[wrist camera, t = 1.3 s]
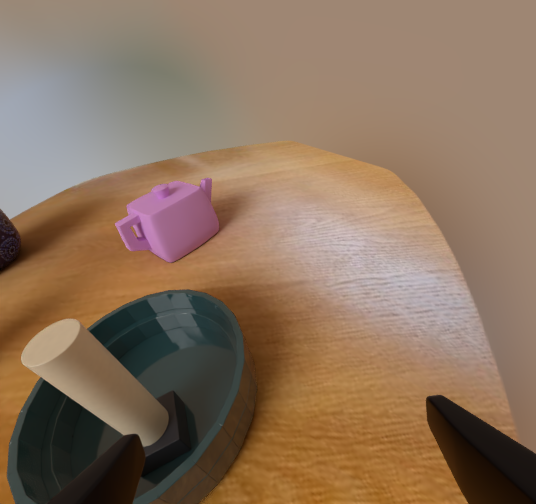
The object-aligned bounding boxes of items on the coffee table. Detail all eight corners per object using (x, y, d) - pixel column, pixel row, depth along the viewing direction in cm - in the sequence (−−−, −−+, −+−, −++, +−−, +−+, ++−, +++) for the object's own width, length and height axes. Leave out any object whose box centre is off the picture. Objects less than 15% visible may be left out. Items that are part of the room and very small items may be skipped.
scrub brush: (191, 450, 21) (86, 354, 13) (141, 477, 20) (-8, 395, 12) (184, 402, 24) (96, 299, 16) (140, 424, 23) (21, 328, 15)
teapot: (206, 208, 56) (189, 160, 50) (240, 220, 49) (224, 166, 43) (127, 257, 46) (93, 205, 40) (155, 279, 40) (121, 221, 34)
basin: (292, 454, 20) (281, 427, 17) (30, 611, 16) (-50, 616, 13) (227, 299, 34) (214, 267, 31) (78, 364, 30) (45, 336, 27)
